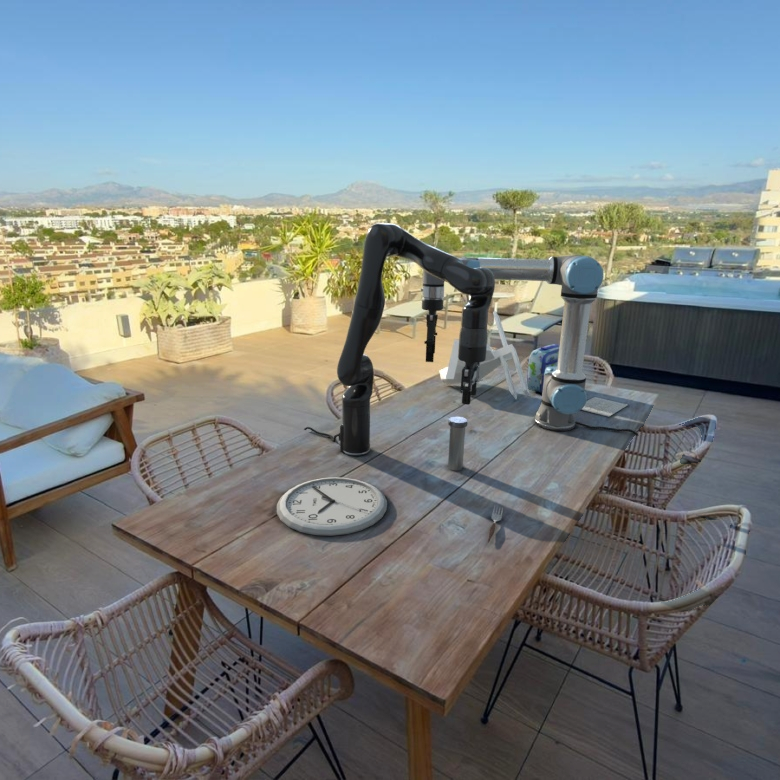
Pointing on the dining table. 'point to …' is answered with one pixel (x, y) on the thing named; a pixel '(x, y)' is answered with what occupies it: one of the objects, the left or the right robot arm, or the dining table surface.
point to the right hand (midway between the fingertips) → (430, 357)
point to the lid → (457, 422)
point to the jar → (456, 448)
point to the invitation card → (603, 406)
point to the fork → (494, 518)
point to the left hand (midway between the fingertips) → (468, 399)
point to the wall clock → (331, 506)
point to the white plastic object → (486, 363)
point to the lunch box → (541, 365)
